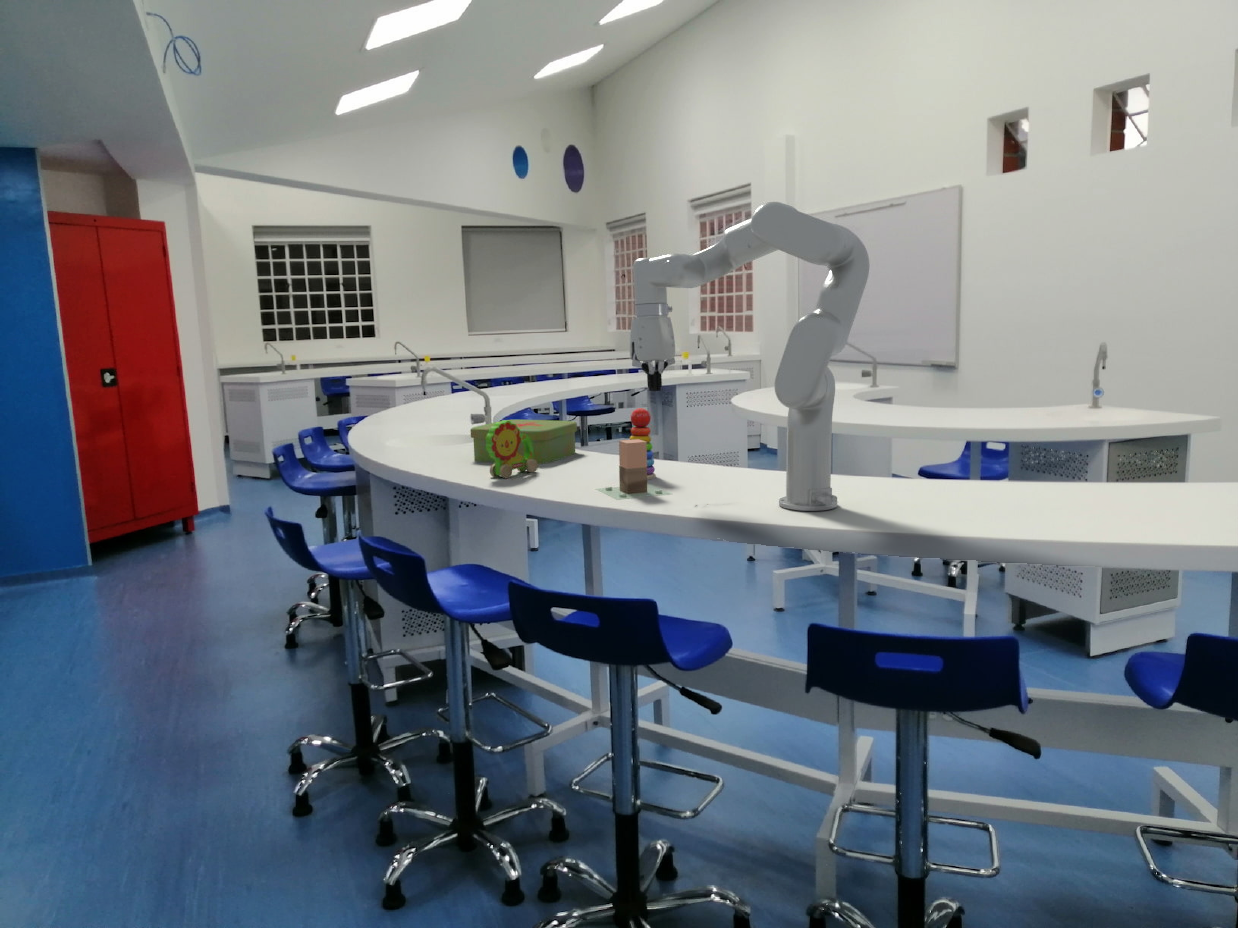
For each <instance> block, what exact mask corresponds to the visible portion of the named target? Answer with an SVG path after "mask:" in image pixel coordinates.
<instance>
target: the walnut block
mask: <svg viewBox="0 0 1238 928" xmlns="http://www.w3.org/2000/svg"><path fill="white" fill-rule="evenodd" d="M618 467H619V468H618V470H619V471H618V472H619V473H618V474H619V476H618V477H619V487H620V491H622V492H624V493H626V494H635V493H645V492H647V484H648V479H647V467H644V468H632V469H626V468H624V467H621V466H620V465H618Z"/></svg>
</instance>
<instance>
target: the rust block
mask: <svg viewBox="0 0 1238 928" xmlns="http://www.w3.org/2000/svg"><path fill="white" fill-rule="evenodd" d="M618 447H619V448H618V449H619V450H618V452H619V453H618V455H619V457H618V458H619V459H618V461H619V466H621V467H624V468H626V469H632V468H644V467H647V442H646V441H642V440H639V439H636V440H630V439H623V440H618Z"/></svg>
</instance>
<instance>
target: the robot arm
mask: <svg viewBox="0 0 1238 928" xmlns="http://www.w3.org/2000/svg"><path fill="white" fill-rule="evenodd" d="M776 251H781V252H784V253H785V254H787V255H790V256H793V257H795V258H798V259H801V260H802V261H804V262H807V263H809V264H813V265H816V266H817V265H818V266H823V267H824V266H825V267H827V276H826V277H825V280H824V281H823V284H822V286H821V289H820V291H819V295H818V298H817V301H816V303H815V307H814V309H813V311H812V312H810V313H807V314H805V315H804V316H802V317H801V318H800V319H798V321H797V322H796V323H795V324H794V326H793V327H792V329H791V332H790V334H789V336H788V340H787V341H786V342H787V343H786V345H785V348H784V351H783V354H782V357H781V360H780V363H779V366H778V369H777V372H776V375H775V379H774V393H775V396H776V398H777V400H778V401H779V403H780V404H782V405H783V406H784V407H786V408H788V412H787V413H788V414H787V422H786V473H785V475H786V481H785V483H786V484H785V486H786V487H785V488H786V490H785V492H786V493H785V496H783V497H781V498H780V499H778V506H779V507H781V508H784V509H788V510H792V511H793V510H794V511H800V512H801V511H802V512H803V511H804V512H818V511H819V512H820V511H827V510H828V511H829V510H833V509H836V508H837V507H838V496H836V495H834V494H833V487H831V482H832V481H831V480H832V479H831V475H832V474H831V473H832V472H831V471H832V436H833V434H832V432H833V412H834V403H835V396H836V380H835V376H834V374H833V372H832V370H831V369H830V368H829V367H828V365H829V364H830V361H831V358H832V357H834V356H837V355H839V353H841V352H842V351H843V350H844V348H845V347H846V345H847V343H848V340H849V337H850V333H851V330H852V327H853V325H854V322H855V319H856V316H857V313H858V310H859V307H860V303H861V300H862V297H863V295H864V292H865V289H866V287H867V283H868V278H869V274H870V259H869V253H868V250H867V248H866V246H865V244H864V243H863V241H862V240H861V239H860V238H859V237H858V236H857V235H856V234H855V233H854V232H853V231H852V230H850V229H849V228H847V227H845V226H843V225H840V224H836V223H832V222H829V221H825V220H823V219H820V218H817V217H814V216H813V215H809V214H806V213H804V212H801V211H799V210H798V209H797V208H795V207H794V206H792V205H789V204H786V203H783V202H781V201H769V202H766V203H763V204H762V205H760V206H759V207H757V208H756V210H755V211H754V213H753V214H752V217H750V218H748V219H746V220H744V221H741V222H739V223H737V224H735V225H733V226H730V227H728V228H727V229H725V230H724V232H723V234H722V238H721V239H720V240H719V241H718V242H716V243H715V244H714V245H711V246H709V247H708V248H705V249H703V250H700V251H699V252H696V253H693V254H686V253H685V254H684V253H669V254H666V255H661V256H658V257H656V256H655V257H654V256H653V257H651V256H650V257H640V258H637V259H635V260H634V262H633V263H632V264H633V265H632V272H633V288H634V290H633V292H634V294H633V295H634V312H635V313H634V314H635V315H634V317H635V318H632V319H631V324H630V331H629V334H630V335H629V358H630V360H631V362H632V363H631V366H632V367H634V368H640V369H641V370H642V371H643V372H644V373H645V374H646V377H647V378H646V380H647V388H648V391H649V392H661V390H662V386H663V384H662V383H663V382H662V381H663V379H662V378H663V377H662V374H663V373H664V371H665V370H666V368H667V367H670V366H673V365H674V364H676V359H675V357H676V344H675V343H676V342H675V341H676V340H675V334H674V328H673V323H672V319H671V317H670V316H669V317H668V315H669V313H672V312H673V306H672V305H671V306H669V303H668V299H667V298H668V294H667V293H668V292H667V290H668V289H667V288H674V289H678V288H679V289H693V288H698V287H701V286H703V285H705V284H708V283H711V282H714V281H716V280H718V279H721V278H722V277H725V276H726V275H728V274H731V273H732V272H733V271H735V270H737V269H739V268H740V267H741V266H743V265H745V264H748V263H750V262H753V261H755V260H757V259H759V258H762V257H765V256H767V255H769V254H772V253H774V252H776ZM653 362H654V363H653Z"/></svg>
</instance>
